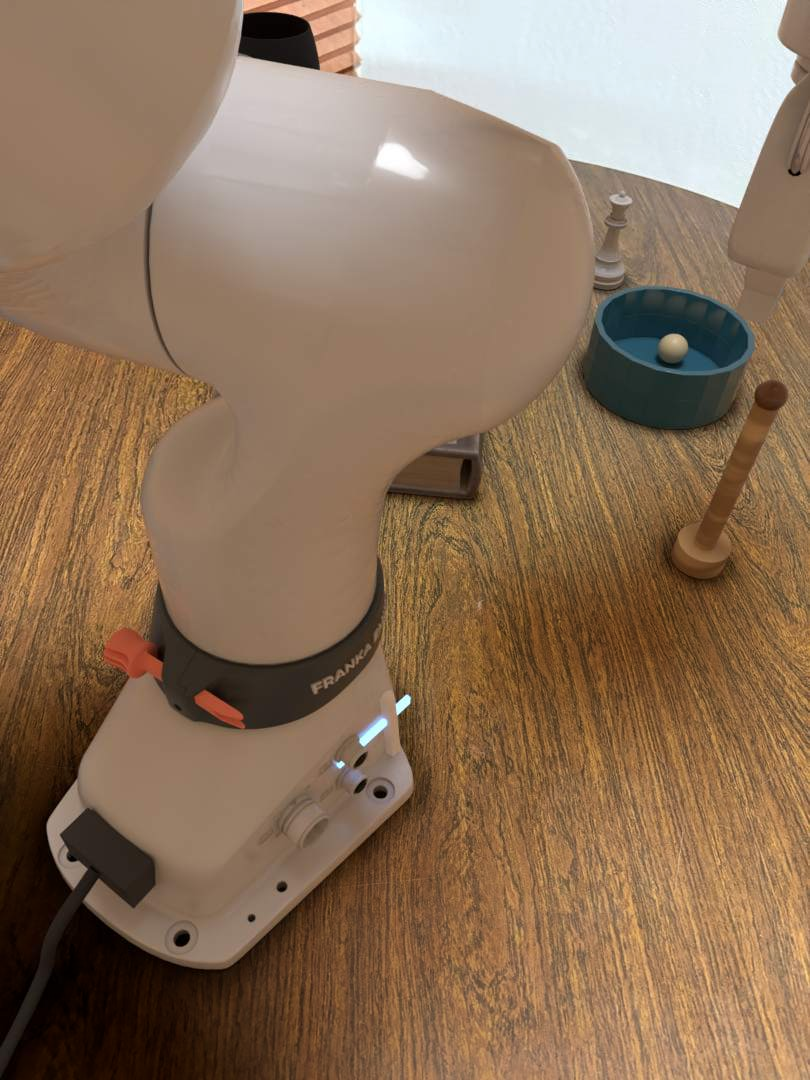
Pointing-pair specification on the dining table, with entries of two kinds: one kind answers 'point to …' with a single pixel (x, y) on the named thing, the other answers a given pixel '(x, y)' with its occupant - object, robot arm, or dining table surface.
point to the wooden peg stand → (728, 490)
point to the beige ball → (673, 348)
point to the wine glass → (279, 39)
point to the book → (441, 469)
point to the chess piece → (612, 246)
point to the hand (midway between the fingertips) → (778, 280)
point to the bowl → (645, 379)
